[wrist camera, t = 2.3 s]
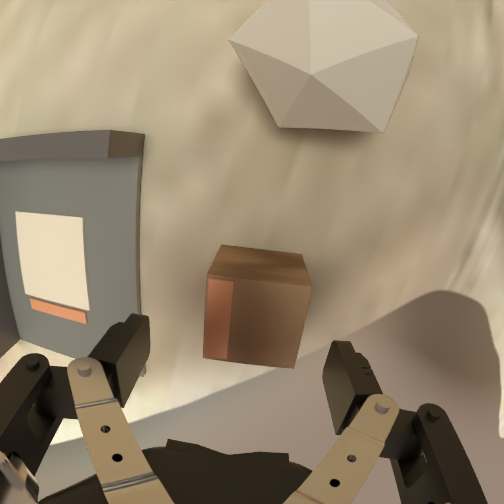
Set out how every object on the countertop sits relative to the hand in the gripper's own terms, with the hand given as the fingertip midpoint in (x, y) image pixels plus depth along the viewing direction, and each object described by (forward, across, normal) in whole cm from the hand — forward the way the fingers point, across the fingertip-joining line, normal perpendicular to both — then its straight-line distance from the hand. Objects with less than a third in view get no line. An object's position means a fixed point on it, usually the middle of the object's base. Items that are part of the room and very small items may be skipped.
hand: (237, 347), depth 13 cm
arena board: (+8, +15, +1) cm, 17 cm away
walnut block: (+8, -1, 0) cm, 8 cm away
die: (+8, -2, -14) cm, 16 cm away
